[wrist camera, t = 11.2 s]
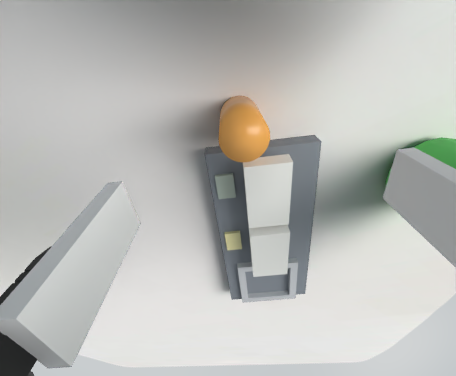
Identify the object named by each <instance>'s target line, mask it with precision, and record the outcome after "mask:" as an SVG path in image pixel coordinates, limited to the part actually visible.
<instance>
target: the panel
mask: <svg viewBox="0 0 456 376" xmlns="http://www.w3.org/2000/svg"><path fill="white" fill-rule="evenodd" d="M320 149H321V141H320V140H319V139H318V138H317V137H316V136H315V135H311V136H302V137H294V138H285V139H276V140H270V141H269V145H268V147H267V149H266V151H265V152H264V153H263V154H262V155H261V156H260V157H266V156H275V155H284V154H289V155H290V157H291V159H292V161H293V171H292V186H291V200H290V214H289V225H288V227H289V230H290V243H289V256H288V270H287V274H282V275H271V276H259V277H253V270H252V260H251V248H250V237H249V225H248V216H247V205H246V194H245V182H244V171H243V162H236V161H233V160H231V159H230V158H228V157H227V156H226V155H225V154H224V153H223V152H222V150H221V148H220V146H217V147H208V148H206V151H205V158H206V164H207V169H208V174H209V180H210V185H211V191H212V196H213V201H214V207H215V212H216V217H217V223H218V228H219V234H220V239H221V244H222V250H223V255H224V260H225V266H226V271H227V277H228V282H229V287H230V293H231V298H232V299H242V302H255V301H267V300H280V299H292V298H296V294H305V289H306V280H307V271H308V261H309V252H310V242H311V233H312V224H313V214H314V205H315V196H316V186H317V177H318V168H319V158H320Z"/></svg>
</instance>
